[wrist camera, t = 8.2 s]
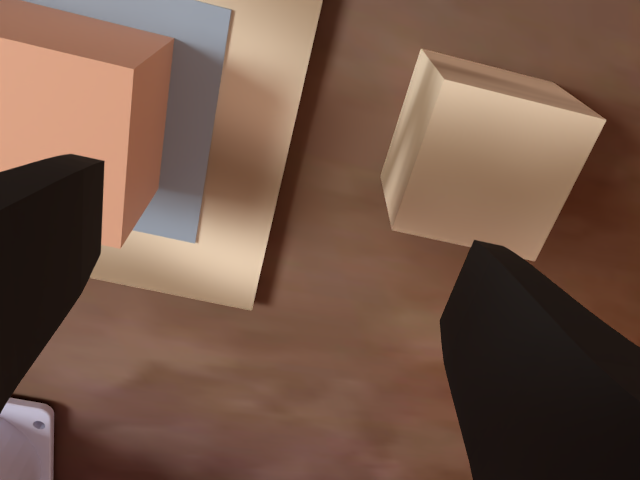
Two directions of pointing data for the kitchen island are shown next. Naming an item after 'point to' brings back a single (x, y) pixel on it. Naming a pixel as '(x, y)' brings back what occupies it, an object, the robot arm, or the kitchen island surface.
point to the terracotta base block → (85, 102)
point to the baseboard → (213, 141)
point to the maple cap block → (484, 154)
